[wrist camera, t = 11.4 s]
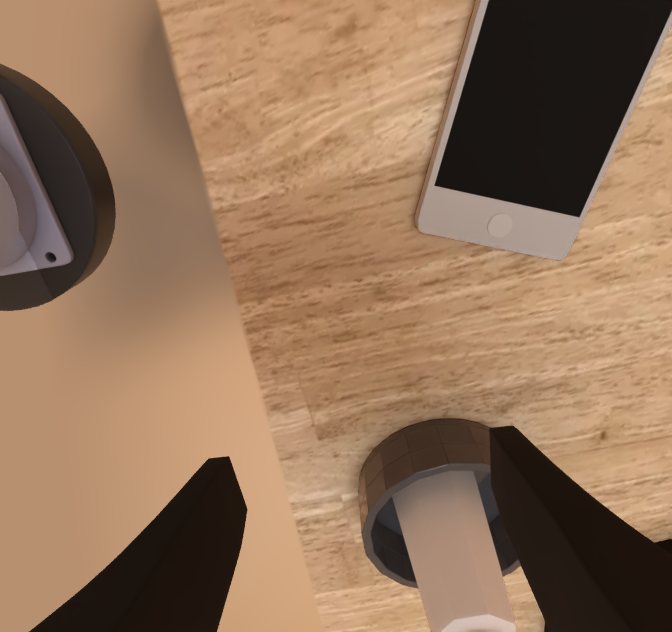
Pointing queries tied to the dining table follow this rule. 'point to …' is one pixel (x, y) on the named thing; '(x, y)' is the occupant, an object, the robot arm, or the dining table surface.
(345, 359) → the dining table surface
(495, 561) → the salt shaker
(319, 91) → the dining table surface
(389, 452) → the bowl
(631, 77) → the smartphone
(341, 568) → the dining table surface
